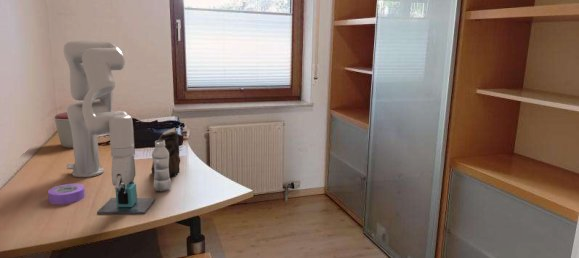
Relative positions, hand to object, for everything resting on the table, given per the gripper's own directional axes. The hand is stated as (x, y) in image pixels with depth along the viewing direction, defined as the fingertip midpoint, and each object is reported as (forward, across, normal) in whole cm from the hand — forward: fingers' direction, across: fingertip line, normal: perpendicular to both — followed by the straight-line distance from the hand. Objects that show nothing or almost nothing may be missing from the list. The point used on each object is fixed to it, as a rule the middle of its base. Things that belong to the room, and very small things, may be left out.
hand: (126, 199), depth 141 cm
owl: (+3, -36, +4) cm, 36 cm away
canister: (+3, -82, -58) cm, 100 cm away
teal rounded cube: (+2, 0, 0) cm, 2 cm away
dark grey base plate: (+3, 0, 0) cm, 3 cm away
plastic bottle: (+3, -16, +8) cm, 18 cm away
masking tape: (+3, -8, -25) cm, 26 cm away
